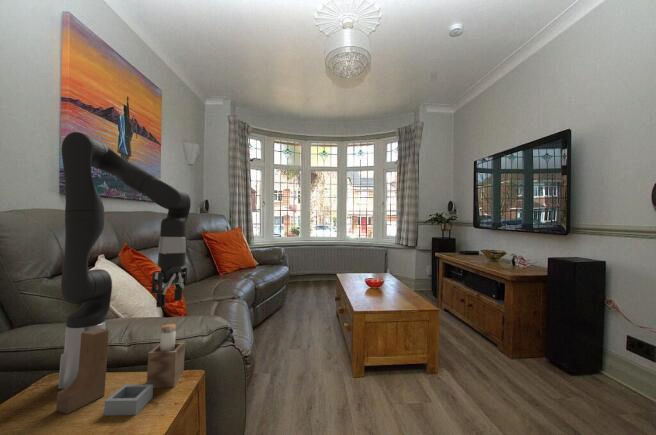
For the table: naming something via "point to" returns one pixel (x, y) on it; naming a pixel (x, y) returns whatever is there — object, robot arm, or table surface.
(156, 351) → the socket tower
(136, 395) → the low socket
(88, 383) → the wooden block
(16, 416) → the table surface
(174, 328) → the white and tan cylinder
